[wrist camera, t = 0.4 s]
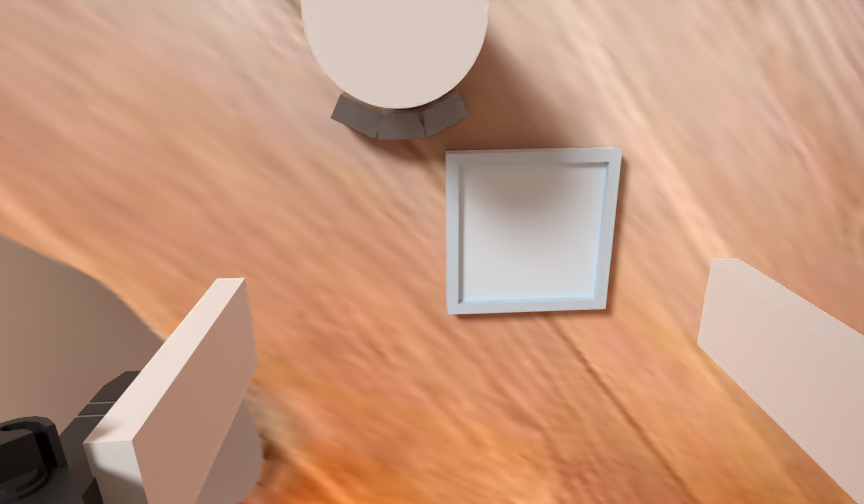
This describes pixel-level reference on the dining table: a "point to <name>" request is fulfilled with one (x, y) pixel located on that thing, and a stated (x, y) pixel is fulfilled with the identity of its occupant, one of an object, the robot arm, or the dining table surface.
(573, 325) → the dining table surface
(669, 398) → the dining table surface
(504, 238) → the tray
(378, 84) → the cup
